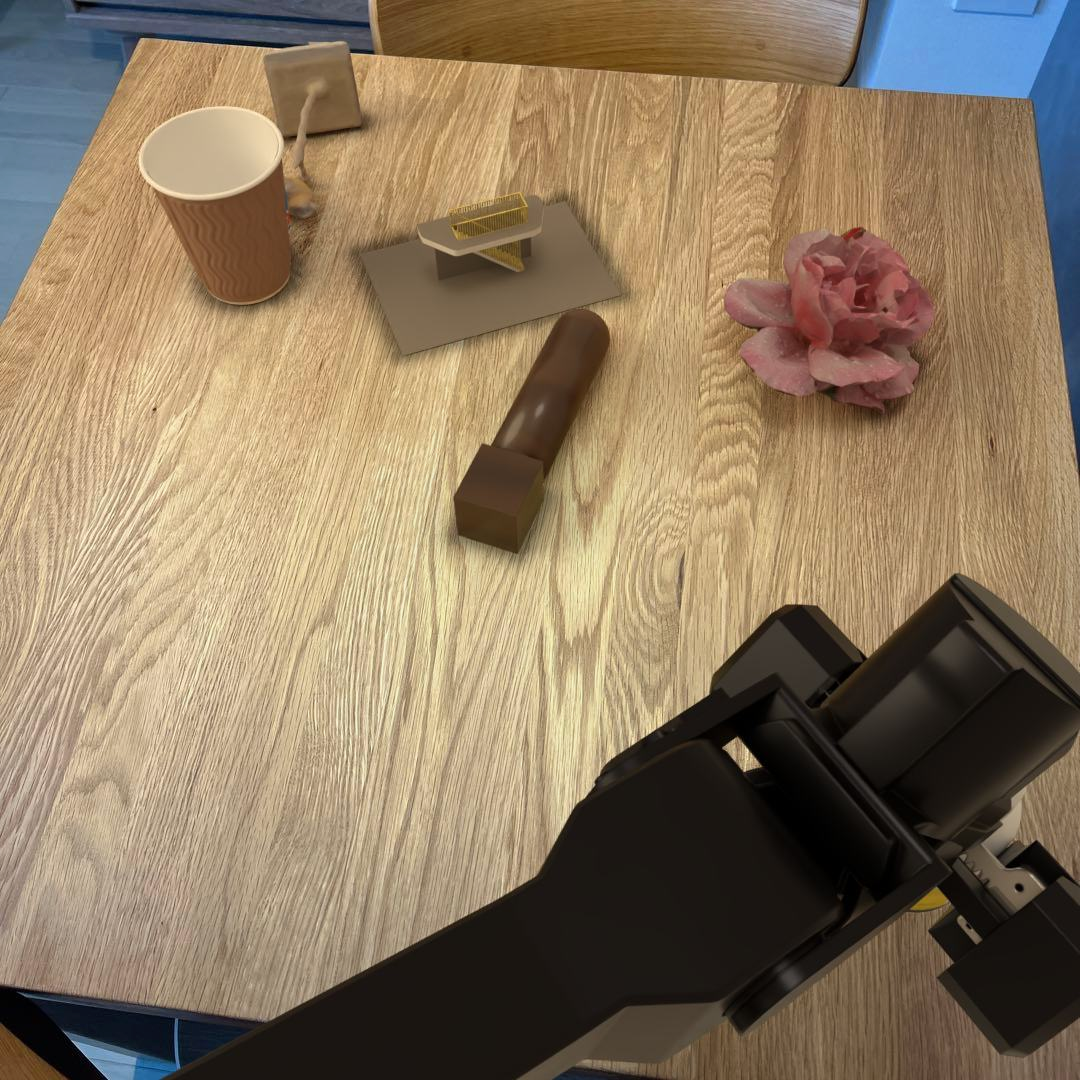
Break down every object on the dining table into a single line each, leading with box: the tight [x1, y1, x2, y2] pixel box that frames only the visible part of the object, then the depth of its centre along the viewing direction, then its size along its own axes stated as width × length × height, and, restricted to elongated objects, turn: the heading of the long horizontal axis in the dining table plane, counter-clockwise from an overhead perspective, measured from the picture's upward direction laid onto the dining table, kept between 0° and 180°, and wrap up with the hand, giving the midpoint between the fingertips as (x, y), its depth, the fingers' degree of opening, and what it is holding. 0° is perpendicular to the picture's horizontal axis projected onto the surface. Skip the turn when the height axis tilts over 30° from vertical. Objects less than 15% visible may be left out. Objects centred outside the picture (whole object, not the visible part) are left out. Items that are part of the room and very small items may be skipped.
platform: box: [359, 191, 622, 356], centre depth 89 cm, size 12×18×7 cm, turn 111°
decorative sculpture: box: [263, 40, 363, 220], centre depth 96 cm, size 16×10×7 cm, turn 170°
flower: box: [723, 226, 937, 415], centre depth 82 cm, size 15×15×10 cm
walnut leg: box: [453, 308, 611, 555], centre depth 80 cm, size 20×4×4 cm, turn 159°
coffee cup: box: [138, 105, 292, 306], centre depth 86 cm, size 10×10×12 cm
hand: (960, 791), depth 53 cm, fingers closed on pill bottle, 6 cm apart
